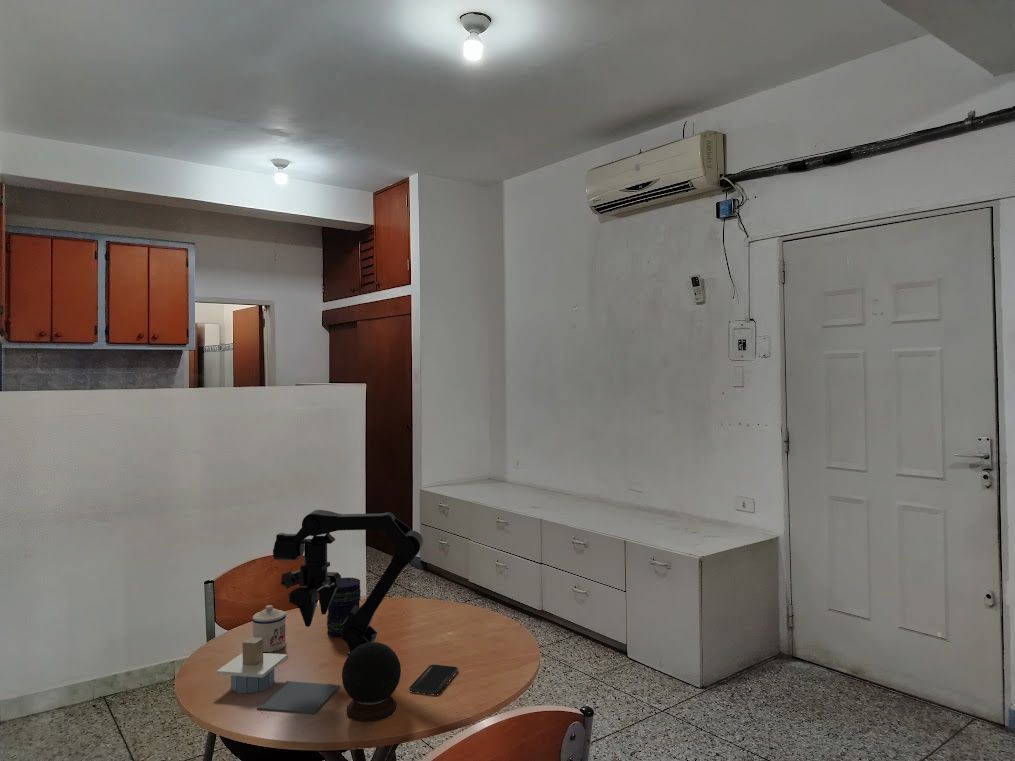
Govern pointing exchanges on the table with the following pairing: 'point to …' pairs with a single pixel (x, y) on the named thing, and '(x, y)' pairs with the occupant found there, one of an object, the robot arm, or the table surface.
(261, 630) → the teacup with lid
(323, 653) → the table surface
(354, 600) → the storage jar
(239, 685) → the bowl
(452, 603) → the table surface
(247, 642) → the lid
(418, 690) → the phone
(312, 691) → the mat
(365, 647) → the black ball on stand
